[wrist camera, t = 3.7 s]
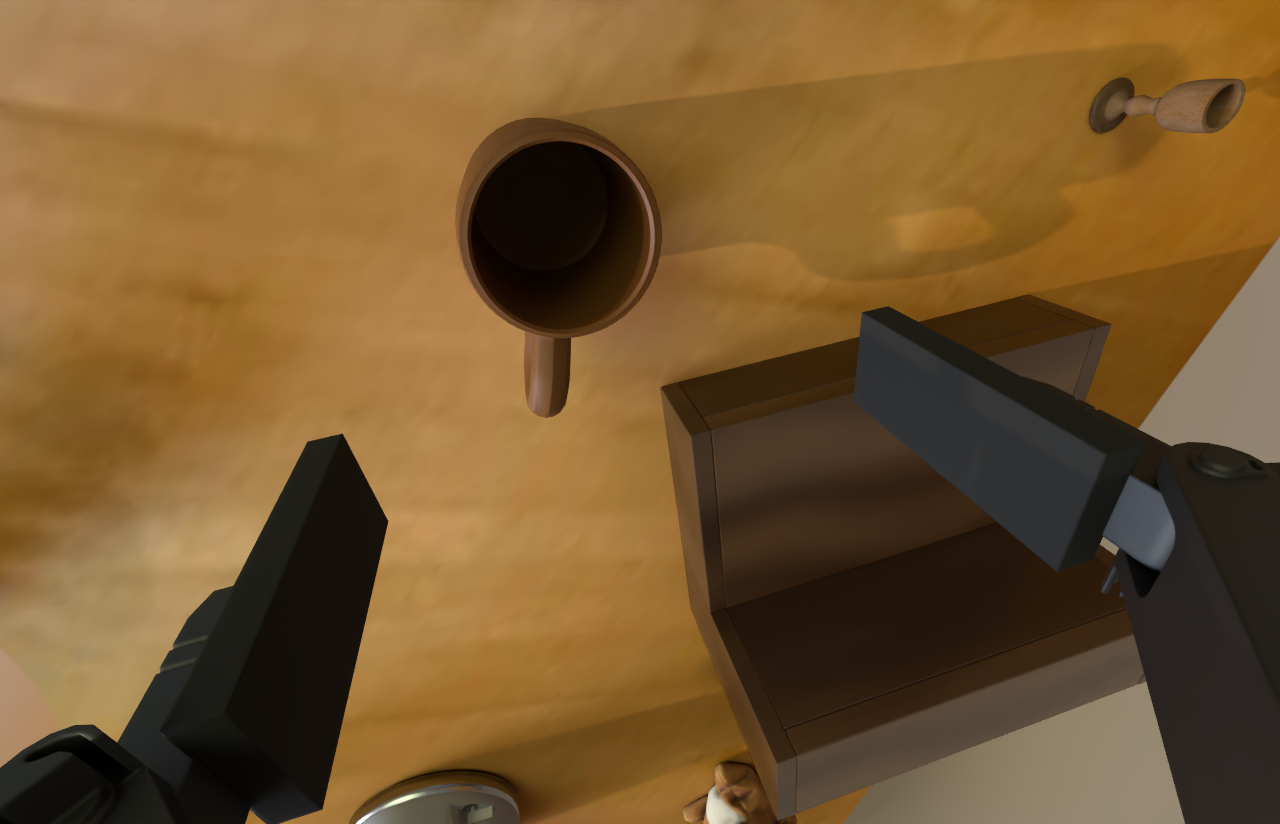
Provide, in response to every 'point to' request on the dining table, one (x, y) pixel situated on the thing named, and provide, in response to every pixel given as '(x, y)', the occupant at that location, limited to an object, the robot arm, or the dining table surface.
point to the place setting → (1171, 105)
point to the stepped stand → (878, 569)
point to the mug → (555, 240)
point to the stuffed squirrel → (735, 800)
